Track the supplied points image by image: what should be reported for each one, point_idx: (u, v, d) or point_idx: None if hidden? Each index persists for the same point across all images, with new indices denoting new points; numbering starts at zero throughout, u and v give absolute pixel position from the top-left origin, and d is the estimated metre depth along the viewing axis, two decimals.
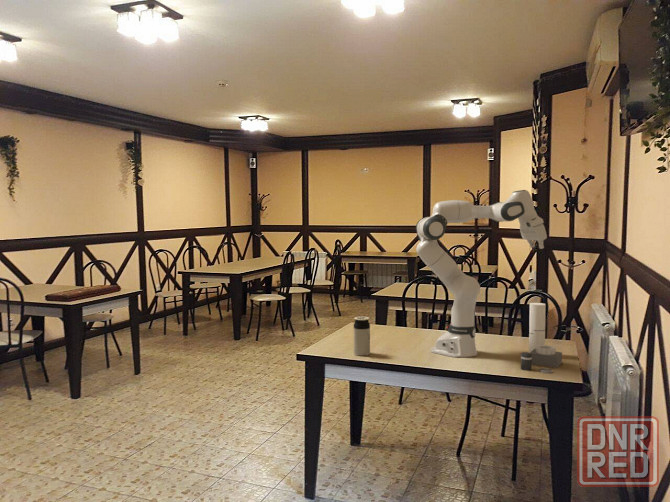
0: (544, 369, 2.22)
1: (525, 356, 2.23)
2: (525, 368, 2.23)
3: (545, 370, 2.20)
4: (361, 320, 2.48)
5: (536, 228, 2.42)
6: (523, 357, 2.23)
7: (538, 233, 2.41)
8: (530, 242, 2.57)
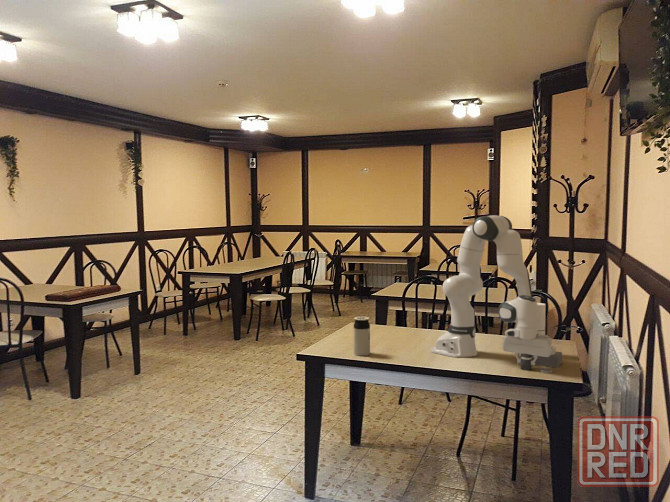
0: (544, 369, 2.22)
1: (525, 356, 2.23)
2: (525, 368, 2.23)
3: (545, 370, 2.20)
4: (361, 320, 2.48)
5: None
6: (523, 357, 2.23)
7: None
8: (534, 359, 2.23)
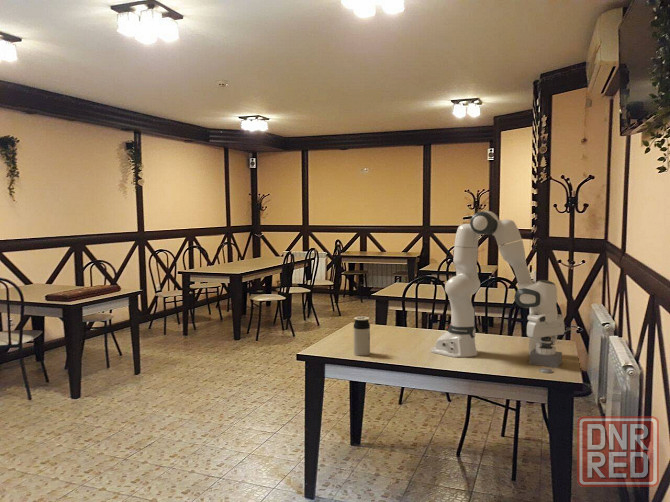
0: (544, 369, 2.22)
1: (550, 340, 2.31)
2: None
3: (545, 370, 2.20)
4: (361, 320, 2.48)
5: (528, 323, 2.30)
6: (548, 341, 2.31)
7: (527, 329, 2.30)
8: (553, 338, 2.35)
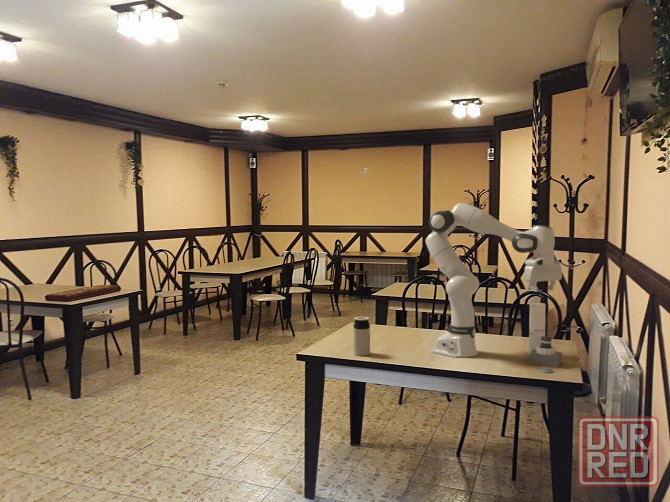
0: (544, 369, 2.22)
1: (550, 340, 2.31)
2: None
3: (545, 370, 2.20)
4: (361, 320, 2.48)
5: (526, 267, 2.31)
6: (548, 341, 2.31)
7: (525, 273, 2.31)
8: (551, 284, 2.37)
